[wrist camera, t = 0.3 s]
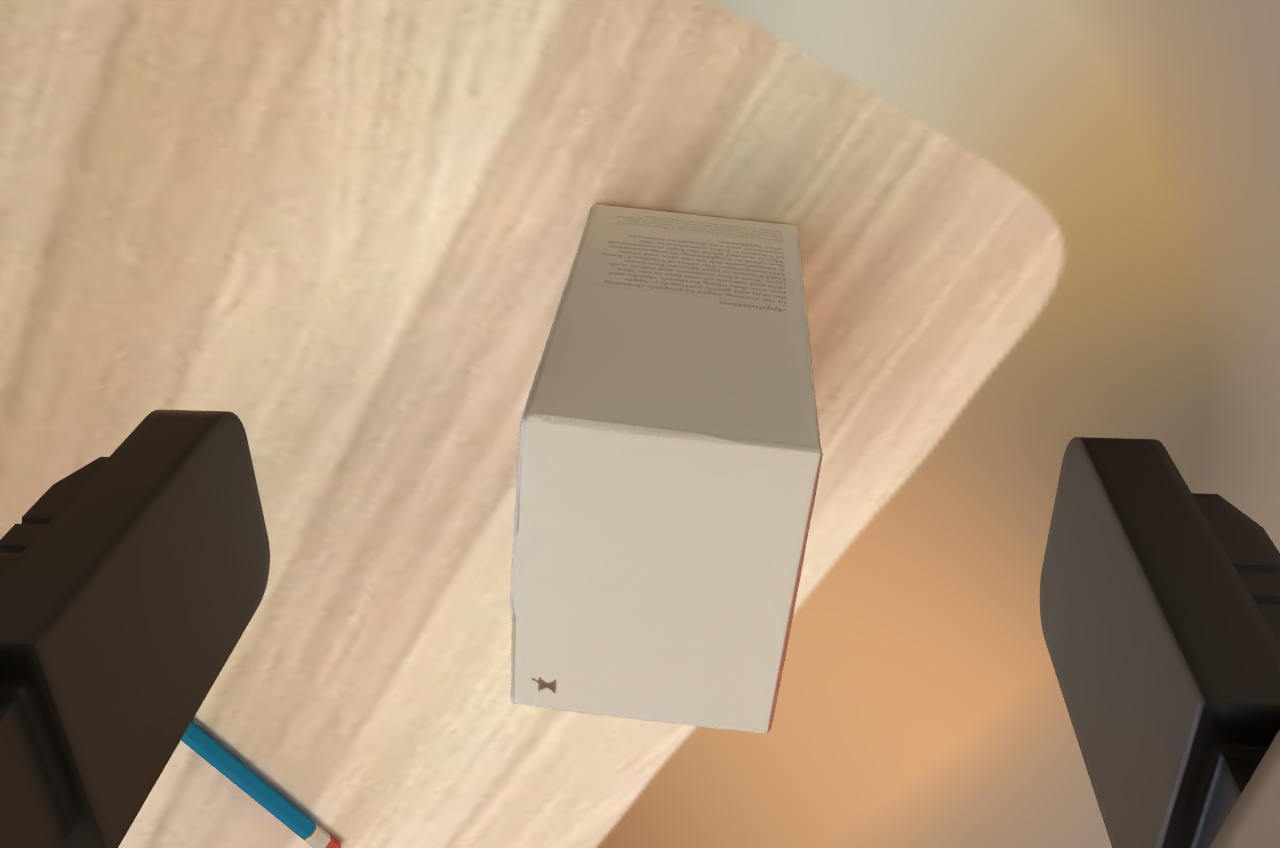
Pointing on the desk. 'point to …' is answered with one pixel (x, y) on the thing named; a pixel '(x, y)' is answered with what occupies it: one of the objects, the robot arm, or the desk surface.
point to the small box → (666, 474)
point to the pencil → (257, 788)
